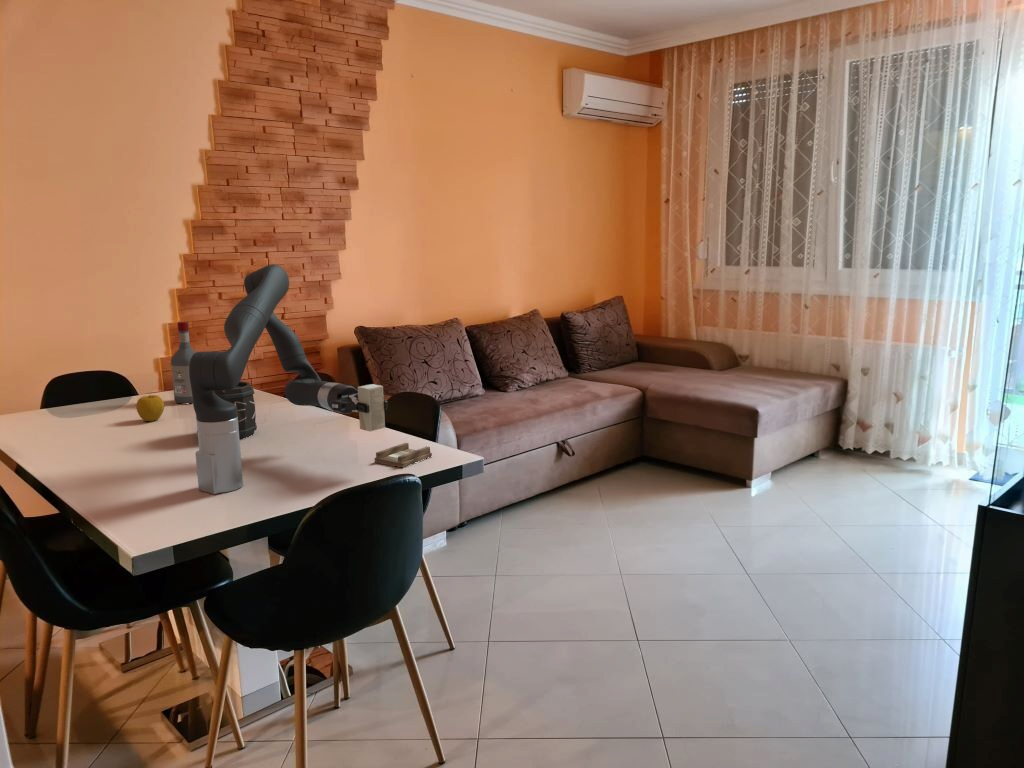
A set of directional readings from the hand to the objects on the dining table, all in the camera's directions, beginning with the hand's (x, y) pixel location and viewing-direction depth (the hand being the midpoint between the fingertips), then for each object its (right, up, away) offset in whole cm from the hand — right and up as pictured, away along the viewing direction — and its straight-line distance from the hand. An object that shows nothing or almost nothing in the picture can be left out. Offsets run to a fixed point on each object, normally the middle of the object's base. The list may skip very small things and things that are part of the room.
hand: (377, 407), depth 187 cm
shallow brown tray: (+4, -15, +16) cm, 22 cm away
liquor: (-88, -1, +94) cm, 128 cm away
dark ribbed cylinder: (-54, -10, +43) cm, 70 cm away
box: (-2, -6, +3) cm, 7 cm away
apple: (-87, -7, +63) cm, 108 cm away
